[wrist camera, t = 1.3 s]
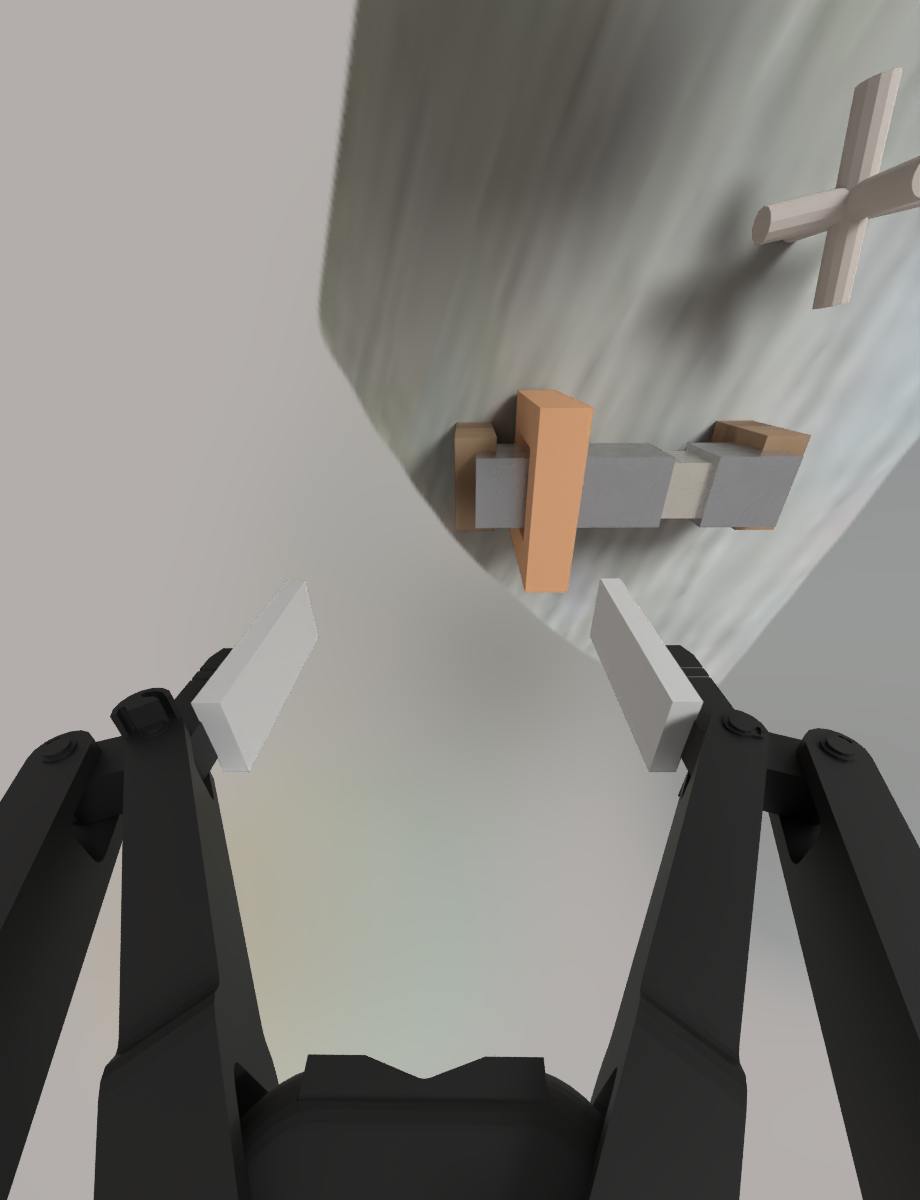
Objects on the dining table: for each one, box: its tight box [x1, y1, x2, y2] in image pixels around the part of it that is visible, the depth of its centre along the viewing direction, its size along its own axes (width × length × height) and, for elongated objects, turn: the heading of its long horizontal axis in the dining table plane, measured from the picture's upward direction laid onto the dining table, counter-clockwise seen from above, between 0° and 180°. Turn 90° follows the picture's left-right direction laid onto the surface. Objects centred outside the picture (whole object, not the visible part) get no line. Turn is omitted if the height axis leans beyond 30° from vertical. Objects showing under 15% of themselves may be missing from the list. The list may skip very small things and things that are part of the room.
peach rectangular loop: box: [510, 390, 594, 592], centre depth 32 cm, size 12×3×12 cm, turn 1°
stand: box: [455, 421, 811, 531], centre depth 34 cm, size 7×25×7 cm, turn 90°
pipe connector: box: [752, 68, 920, 309], centre depth 25 cm, size 10×10×10 cm
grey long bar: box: [475, 442, 803, 528], centre depth 32 cm, size 5×22×5 cm, turn 91°
